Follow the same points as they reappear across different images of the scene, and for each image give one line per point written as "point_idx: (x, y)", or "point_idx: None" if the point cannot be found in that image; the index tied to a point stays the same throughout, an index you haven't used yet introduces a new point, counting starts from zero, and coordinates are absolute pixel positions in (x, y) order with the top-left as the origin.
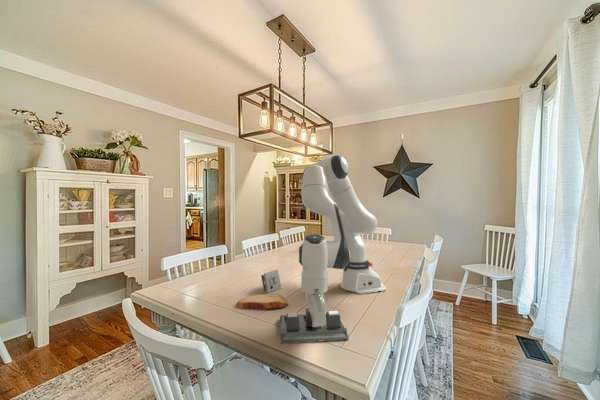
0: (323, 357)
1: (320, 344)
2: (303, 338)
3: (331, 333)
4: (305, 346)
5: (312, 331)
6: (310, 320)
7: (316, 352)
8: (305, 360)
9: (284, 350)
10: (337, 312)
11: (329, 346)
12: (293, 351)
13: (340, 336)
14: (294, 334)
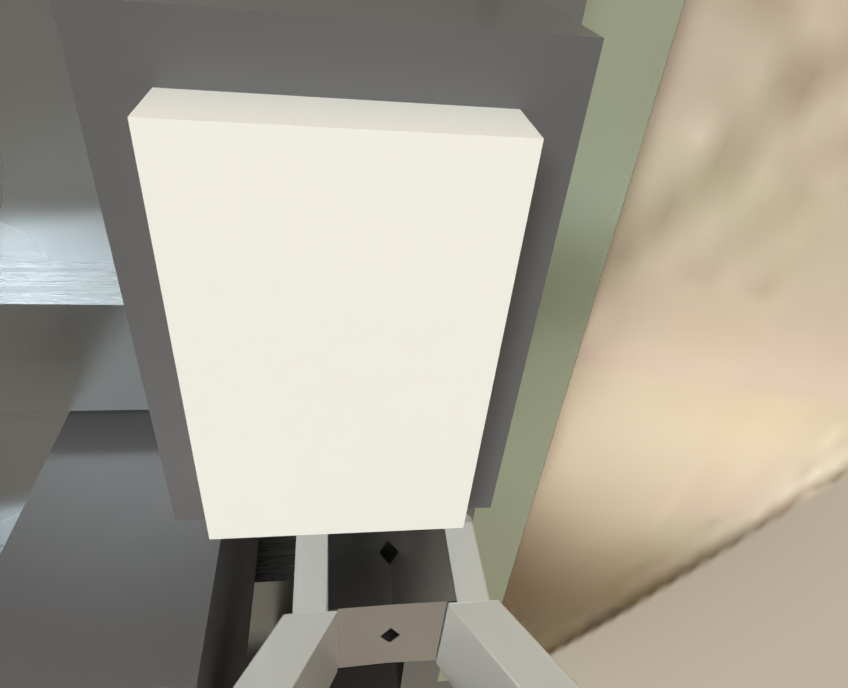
0: (845, 370)
1: (608, 362)
2: (512, 555)
3: None
4: (580, 501)
5: (472, 516)
6: (246, 592)
7: (727, 421)
8: (778, 510)
9: (571, 625)
10: (371, 168)
11: (701, 261)
12: (613, 579)
13: (673, 30)
14: None
